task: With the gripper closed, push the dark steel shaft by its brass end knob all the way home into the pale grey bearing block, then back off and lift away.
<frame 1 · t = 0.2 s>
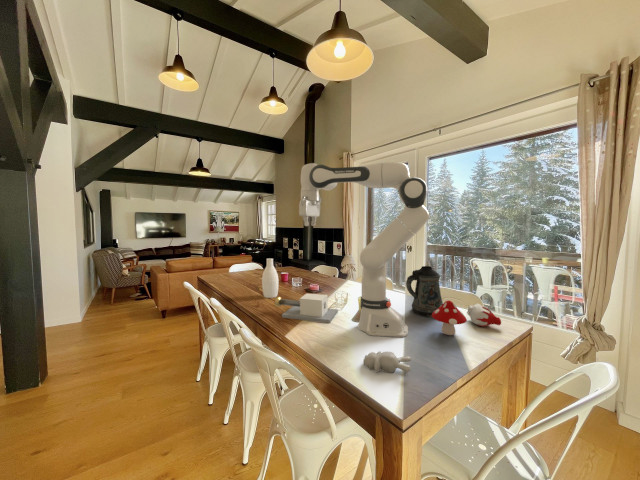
hand: (310, 225, 126), 48 cm above the table, fingers open, 8 cm apart
bunny figurine: (386, 369, 85), on the table
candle: (482, 325, 121), on the table
decorative mushroom: (448, 334, 111), on the table
shaft: (291, 302, 139), point 5 cm above the table, slide at 11.0 cm
bottle: (270, 296, 172), on the table
bearing block: (310, 314, 136), on the table
beer stein: (426, 313, 138), on the table
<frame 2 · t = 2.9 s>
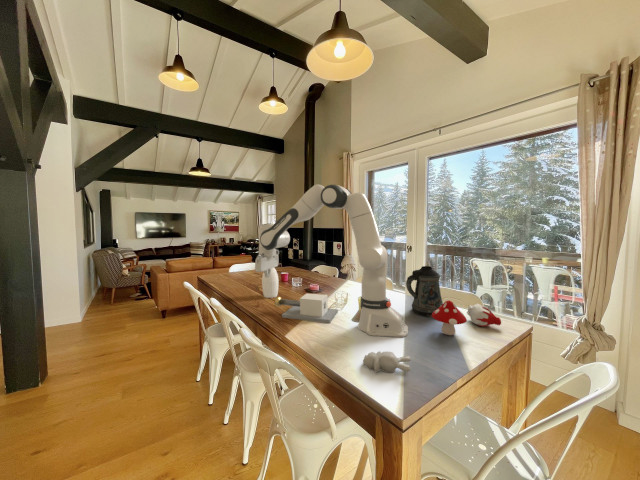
hand: (267, 277, 143), 19 cm above the table, fingers closed
nothing on the table moved.
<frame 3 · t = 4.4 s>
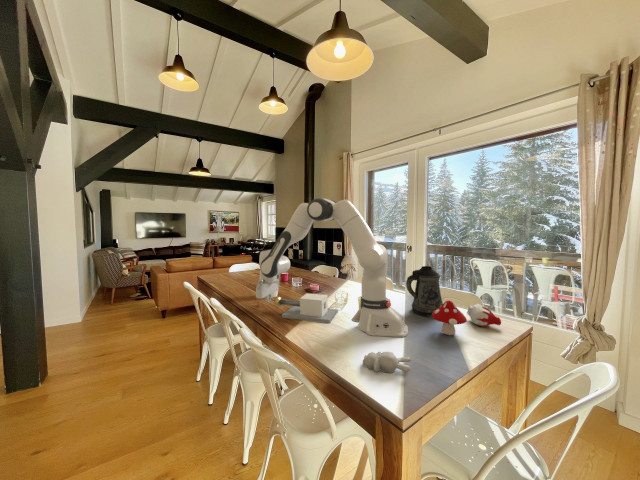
hand: (268, 302, 144), 5 cm above the table, fingers closed
nothing on the table moved.
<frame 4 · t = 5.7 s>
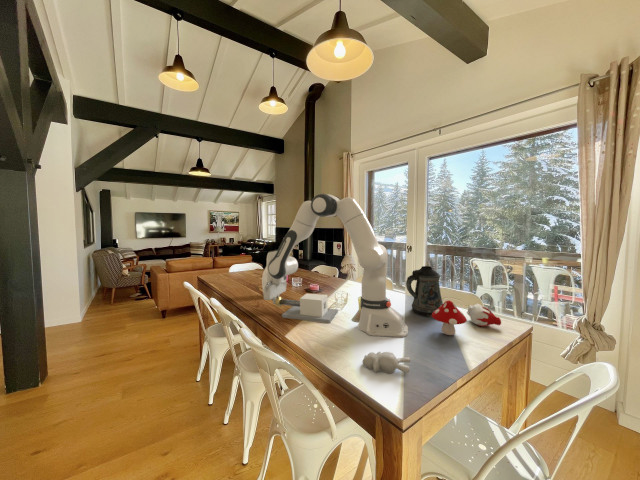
hand: (275, 303, 142), 4 cm above the table, fingers closed, pressing on shaft
shaft: (292, 302, 139), point 5 cm above the table, slide at 10.6 cm, touching gripper
everything else where it was.
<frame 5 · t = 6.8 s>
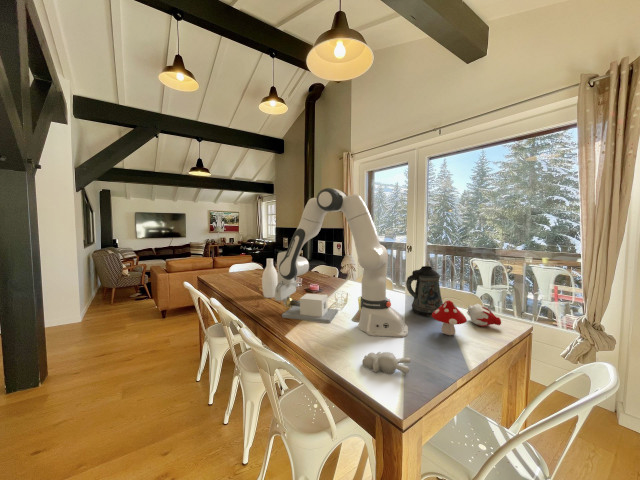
hand: (286, 304, 140), 4 cm above the table, fingers closed, pressing on shaft
shaft: (303, 304, 137), point 5 cm above the table, slide at 4.2 cm, touching gripper
everything else where it was.
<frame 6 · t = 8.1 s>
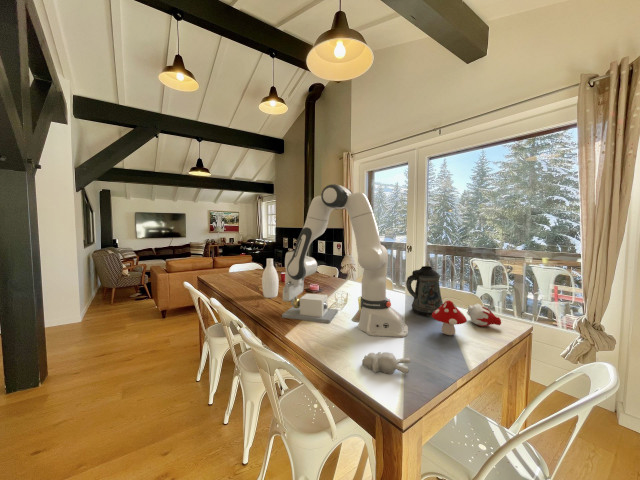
hand: (293, 304, 139), 5 cm above the table, fingers closed, pressing on shaft
shaft: (310, 304, 136), point 5 cm above the table, slide at -0.1 cm, touching gripper
everything else where it was.
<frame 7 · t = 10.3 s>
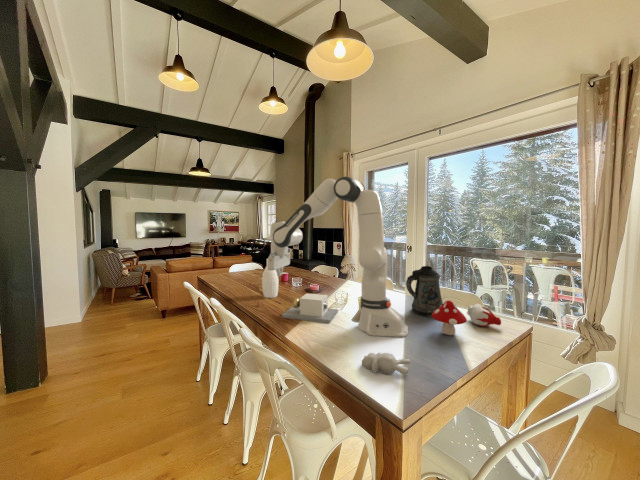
hand: (279, 275, 140), 20 cm above the table, fingers closed
shaft: (310, 304, 136), point 5 cm above the table, slide at 0.0 cm
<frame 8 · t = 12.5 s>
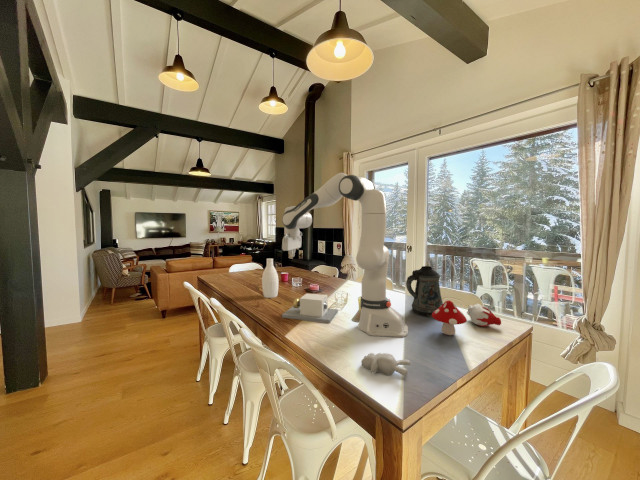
hand: (292, 256, 152), 29 cm above the table, fingers closed
at the end: shaft slide at 0.0 cm; bottle moved 0.2 cm from its start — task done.
